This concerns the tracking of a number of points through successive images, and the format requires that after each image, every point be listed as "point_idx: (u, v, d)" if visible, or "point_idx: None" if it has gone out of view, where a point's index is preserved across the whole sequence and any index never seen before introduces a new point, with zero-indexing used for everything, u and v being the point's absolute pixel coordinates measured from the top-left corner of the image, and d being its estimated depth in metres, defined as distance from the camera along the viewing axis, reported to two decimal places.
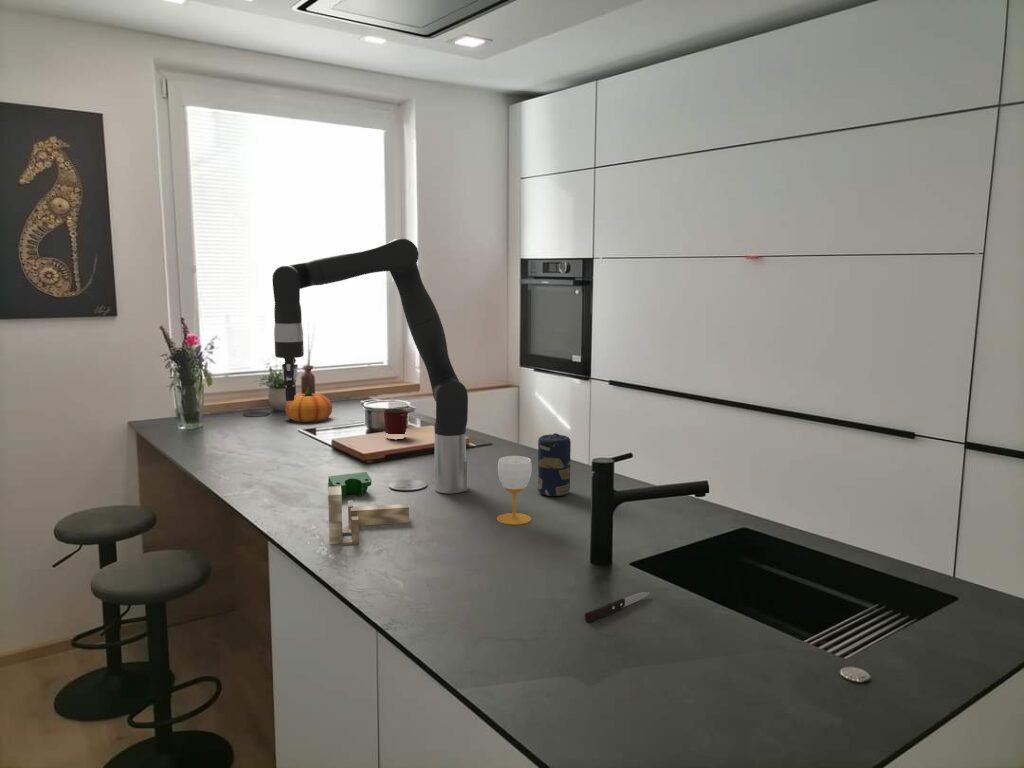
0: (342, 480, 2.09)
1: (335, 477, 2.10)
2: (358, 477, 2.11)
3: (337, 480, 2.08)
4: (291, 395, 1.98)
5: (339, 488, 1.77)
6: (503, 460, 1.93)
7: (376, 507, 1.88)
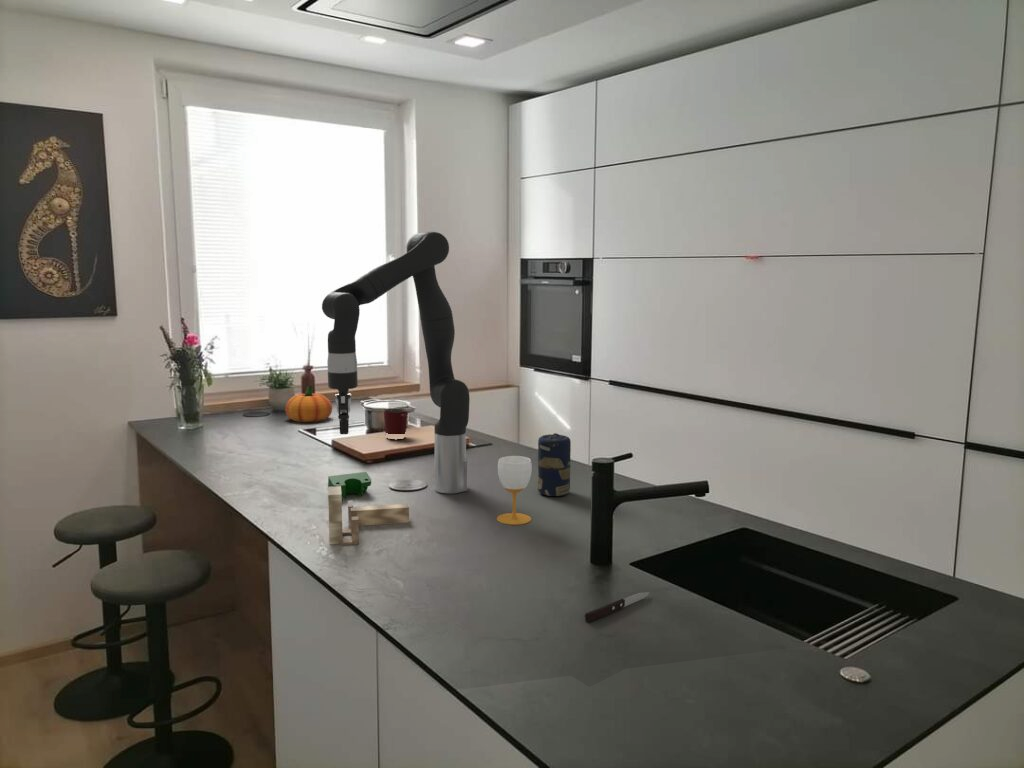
0: (342, 479, 2.09)
1: (335, 477, 2.10)
2: (358, 477, 2.11)
3: (336, 480, 2.09)
4: (345, 428, 1.89)
5: (339, 488, 1.77)
6: (503, 460, 1.93)
7: (376, 507, 1.88)
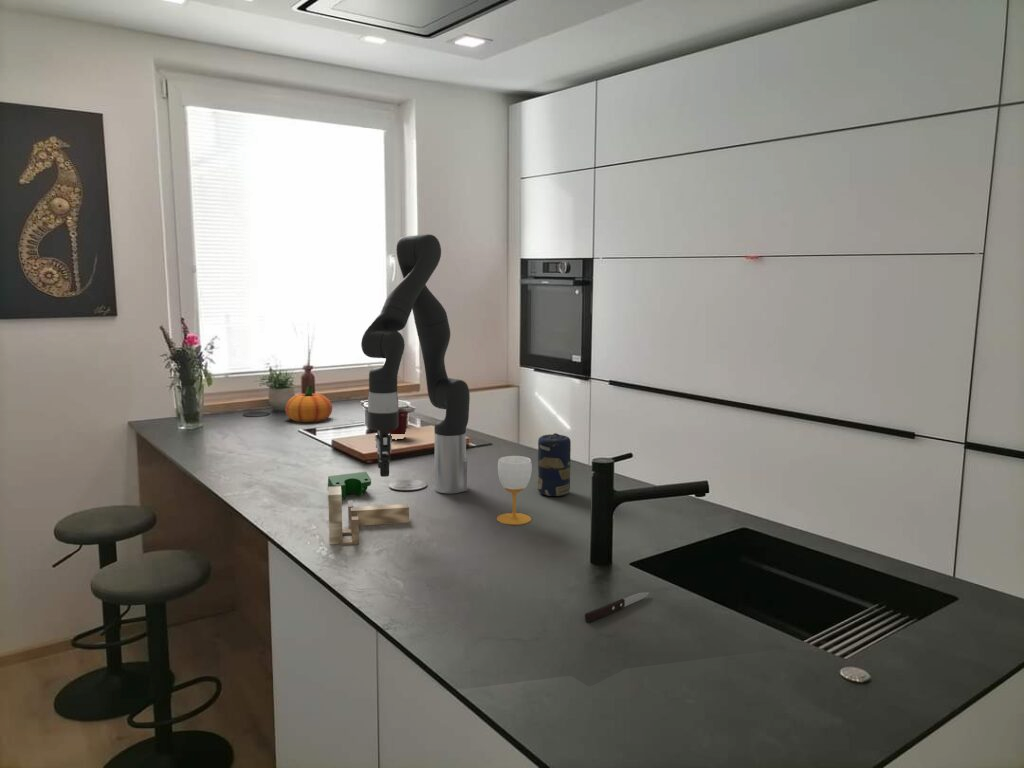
0: (342, 479, 2.09)
1: (335, 477, 2.10)
2: (358, 477, 2.11)
3: (336, 479, 2.09)
4: (386, 470, 1.82)
5: (339, 488, 1.77)
6: (503, 460, 1.93)
7: (376, 507, 1.88)
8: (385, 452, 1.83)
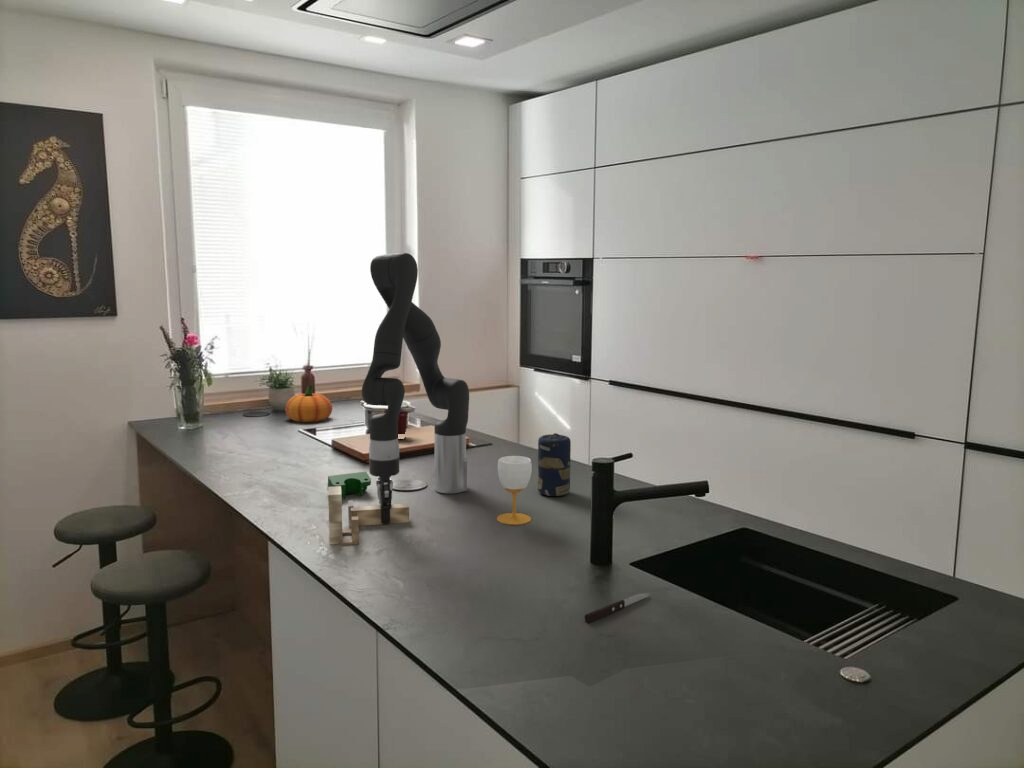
0: (342, 479, 2.09)
1: (334, 477, 2.10)
2: (358, 477, 2.12)
3: (336, 479, 2.09)
4: (387, 518, 1.87)
5: (339, 488, 1.77)
6: (503, 460, 1.93)
7: (376, 507, 1.88)
8: None
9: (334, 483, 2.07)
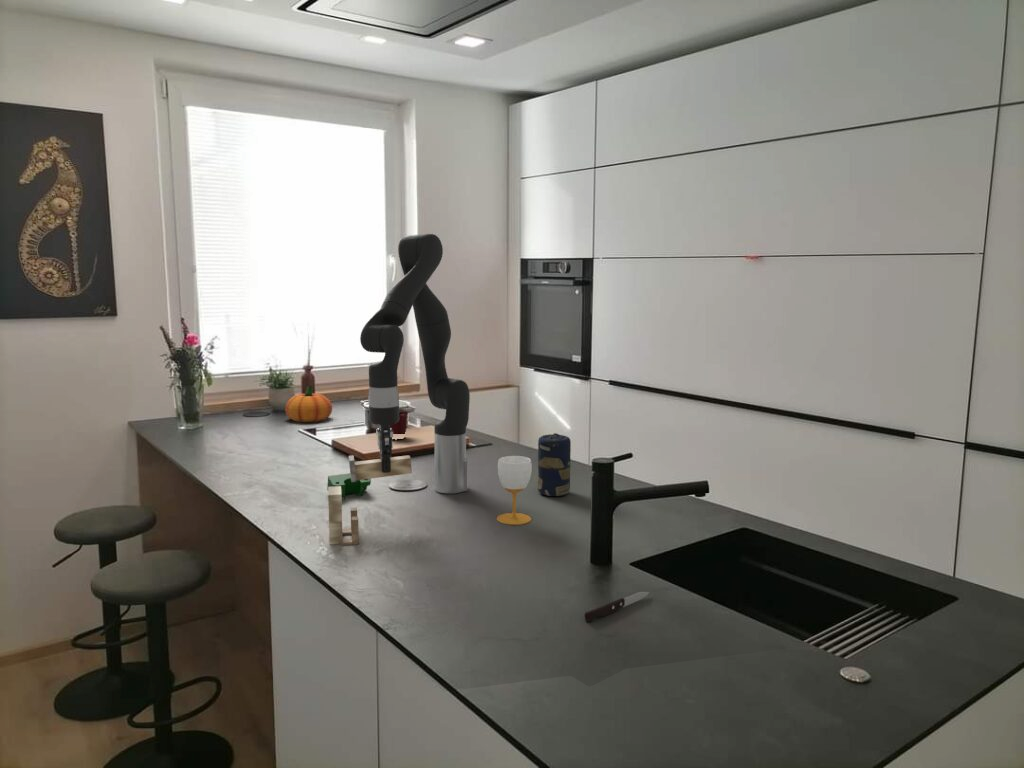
0: (341, 479, 2.09)
1: (334, 477, 2.10)
2: None
3: (336, 479, 2.09)
4: (388, 467, 1.85)
5: (339, 488, 1.77)
6: (503, 460, 1.93)
7: (377, 460, 1.87)
8: None
9: (334, 483, 2.07)
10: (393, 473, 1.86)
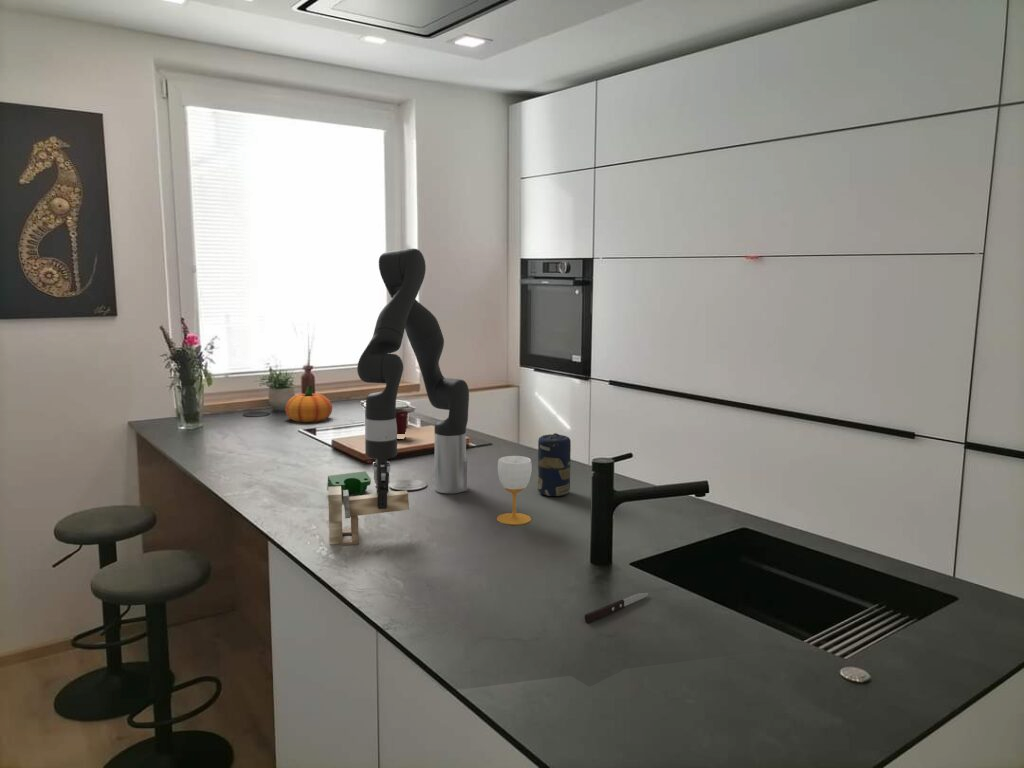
0: (341, 479, 2.09)
1: (334, 476, 2.10)
2: (358, 477, 2.12)
3: (336, 479, 2.09)
4: (384, 503, 1.75)
5: (339, 488, 1.77)
6: (503, 460, 1.93)
7: (373, 495, 1.77)
8: None
9: (334, 483, 2.07)
10: (389, 509, 1.77)
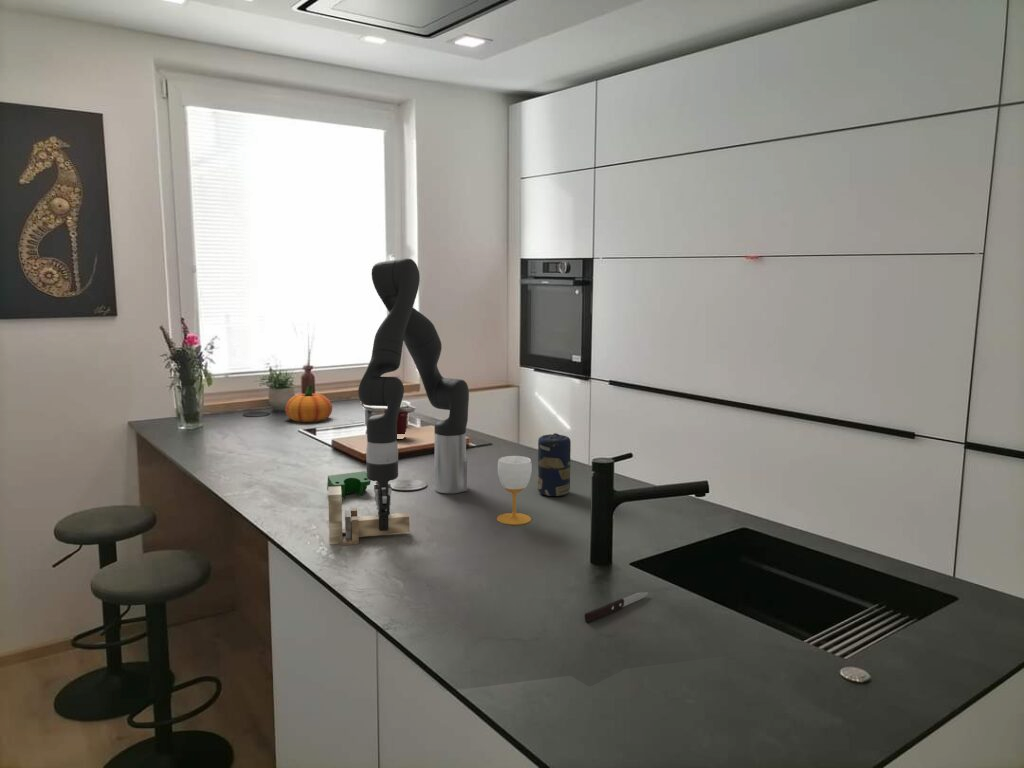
0: (341, 479, 2.10)
1: (334, 476, 2.10)
2: (357, 477, 2.12)
3: (336, 479, 2.09)
4: (385, 525, 1.76)
5: (339, 488, 1.77)
6: (503, 460, 1.93)
7: (374, 517, 1.78)
8: None
9: (334, 483, 2.07)
10: (390, 531, 1.78)
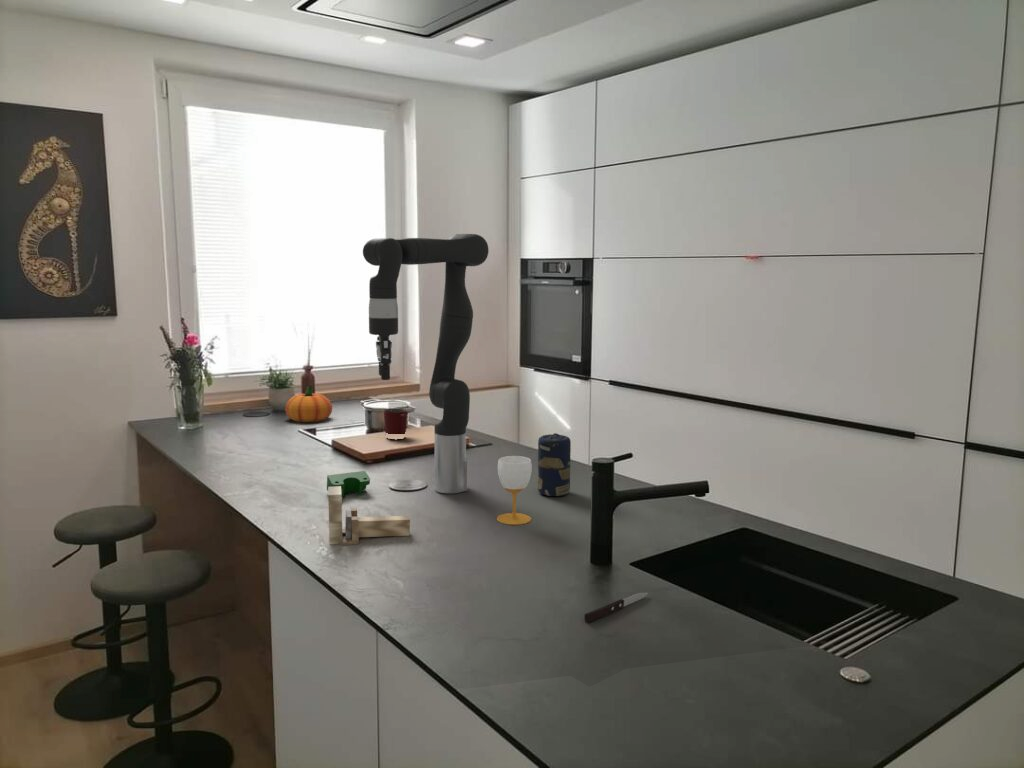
0: (341, 478, 2.10)
1: (334, 476, 2.11)
2: (357, 476, 2.12)
3: (335, 479, 2.10)
4: (387, 374, 1.89)
5: (339, 488, 1.77)
6: (503, 460, 1.93)
7: (375, 518, 1.78)
8: (386, 356, 1.90)
9: (333, 482, 2.07)
10: (390, 533, 1.78)
